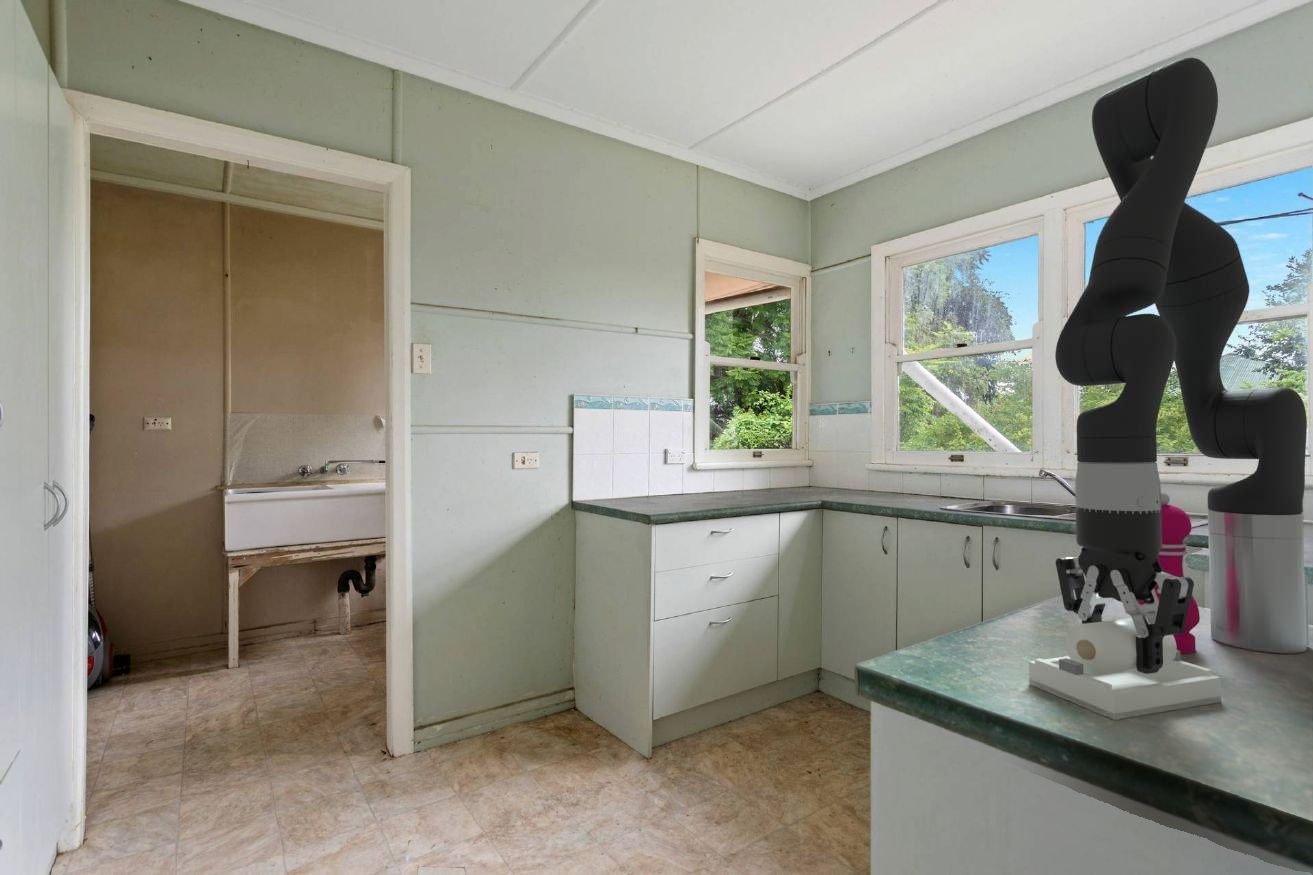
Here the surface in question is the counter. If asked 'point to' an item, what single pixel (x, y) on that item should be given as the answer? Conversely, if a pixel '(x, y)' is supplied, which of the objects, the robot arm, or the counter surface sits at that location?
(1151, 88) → the robot arm
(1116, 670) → the paper roll
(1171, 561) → the pepper mill
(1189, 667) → the holder
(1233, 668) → the counter surface
